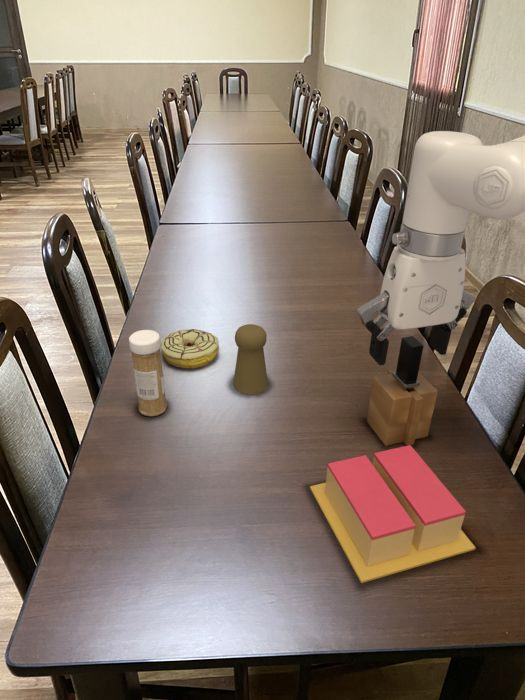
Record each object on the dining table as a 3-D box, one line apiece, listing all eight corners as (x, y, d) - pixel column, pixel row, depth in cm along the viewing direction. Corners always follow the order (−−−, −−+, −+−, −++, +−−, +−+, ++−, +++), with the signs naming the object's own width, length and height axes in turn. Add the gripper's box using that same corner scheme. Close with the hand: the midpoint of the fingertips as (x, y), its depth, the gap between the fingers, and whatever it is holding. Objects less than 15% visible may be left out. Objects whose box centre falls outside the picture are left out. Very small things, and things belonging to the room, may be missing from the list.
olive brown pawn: (248, 399, 89) (249, 341, 83) (225, 383, 92) (224, 327, 87) (275, 385, 92) (277, 329, 86) (252, 370, 96) (252, 316, 90)
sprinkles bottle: (172, 404, 87) (165, 332, 80) (157, 420, 83) (148, 346, 77) (148, 397, 89) (140, 326, 82) (132, 413, 85) (122, 339, 78)
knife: (397, 420, 84) (413, 334, 76) (409, 434, 81) (427, 346, 73) (383, 423, 84) (398, 336, 76) (395, 437, 81) (411, 349, 73)
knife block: (403, 409, 87) (411, 365, 82) (431, 440, 80) (442, 394, 76) (363, 417, 85) (369, 372, 80) (388, 450, 78) (397, 403, 74)
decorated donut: (200, 336, 106) (199, 319, 104) (229, 360, 99) (229, 342, 97) (152, 351, 101) (150, 334, 99) (179, 378, 93) (178, 359, 92)
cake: (408, 465, 76) (414, 435, 73) (475, 549, 64) (485, 518, 61) (309, 488, 72) (312, 458, 69) (361, 583, 60) (366, 551, 57)
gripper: (383, 256, 61) (365, 379, 70) (508, 243, 66) (475, 359, 75) (354, 234, 68) (340, 350, 77) (470, 224, 72) (444, 334, 81)
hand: (407, 355), depth 76 cm, fingers open, 9 cm apart
